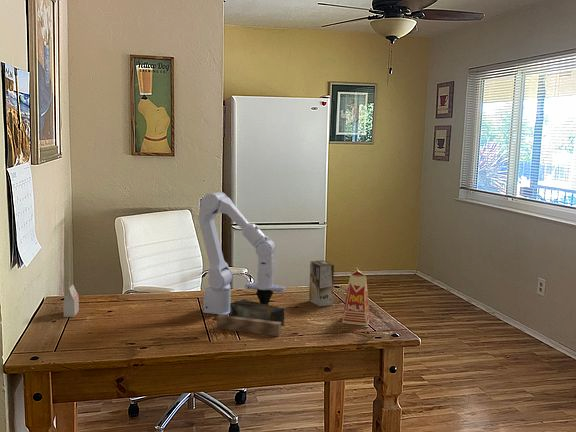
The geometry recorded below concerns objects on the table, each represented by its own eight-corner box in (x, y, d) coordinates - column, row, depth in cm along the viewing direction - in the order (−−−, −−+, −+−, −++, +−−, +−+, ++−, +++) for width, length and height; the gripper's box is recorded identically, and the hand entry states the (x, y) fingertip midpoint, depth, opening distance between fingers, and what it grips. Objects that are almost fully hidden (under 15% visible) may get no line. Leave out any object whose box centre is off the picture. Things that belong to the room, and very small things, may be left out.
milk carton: (367, 325, 204) (370, 269, 202) (341, 323, 206) (343, 267, 203) (369, 317, 213) (372, 264, 211) (344, 315, 215) (346, 262, 212)
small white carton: (63, 317, 205) (62, 289, 203) (68, 311, 211) (67, 284, 210) (74, 316, 205) (73, 289, 204) (78, 311, 212) (78, 284, 210)
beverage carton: (243, 314, 215) (244, 296, 214) (285, 325, 203) (286, 307, 202) (229, 319, 208) (229, 301, 207) (271, 331, 197) (271, 312, 196)
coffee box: (333, 305, 228) (335, 264, 226) (318, 306, 225) (320, 266, 223) (322, 298, 236) (323, 260, 234) (308, 300, 233) (309, 261, 231)
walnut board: (216, 328, 198) (216, 316, 197) (219, 325, 200) (219, 314, 199) (278, 336, 191) (278, 324, 191) (280, 333, 194) (281, 322, 193)
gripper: (242, 273, 207) (241, 310, 209) (281, 277, 203) (280, 315, 205) (249, 269, 214) (248, 305, 216) (287, 273, 210) (286, 309, 212)
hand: (264, 310), depth 211 cm, fingers closed
